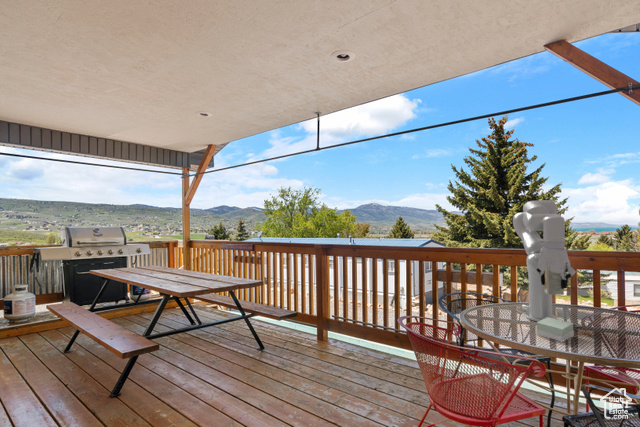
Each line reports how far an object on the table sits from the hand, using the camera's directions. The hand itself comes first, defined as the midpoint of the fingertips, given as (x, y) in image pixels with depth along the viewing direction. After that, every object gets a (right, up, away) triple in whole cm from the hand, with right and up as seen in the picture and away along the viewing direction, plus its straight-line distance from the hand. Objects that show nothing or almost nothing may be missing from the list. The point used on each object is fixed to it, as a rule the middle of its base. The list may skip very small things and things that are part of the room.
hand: (553, 286), depth 152 cm
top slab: (+1, -19, +1) cm, 19 cm away
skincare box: (0, -3, 0) cm, 3 cm away
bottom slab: (+1, -22, +1) cm, 22 cm away
